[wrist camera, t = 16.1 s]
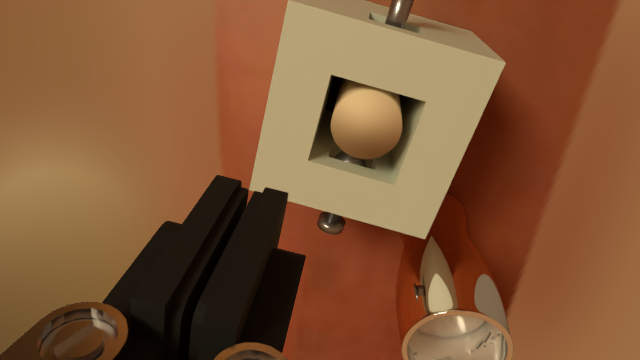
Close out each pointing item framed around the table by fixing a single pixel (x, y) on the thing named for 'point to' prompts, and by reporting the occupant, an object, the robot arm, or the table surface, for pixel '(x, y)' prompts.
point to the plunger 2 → (399, 13)
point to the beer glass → (449, 295)
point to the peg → (366, 120)
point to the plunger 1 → (333, 221)
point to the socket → (381, 72)
